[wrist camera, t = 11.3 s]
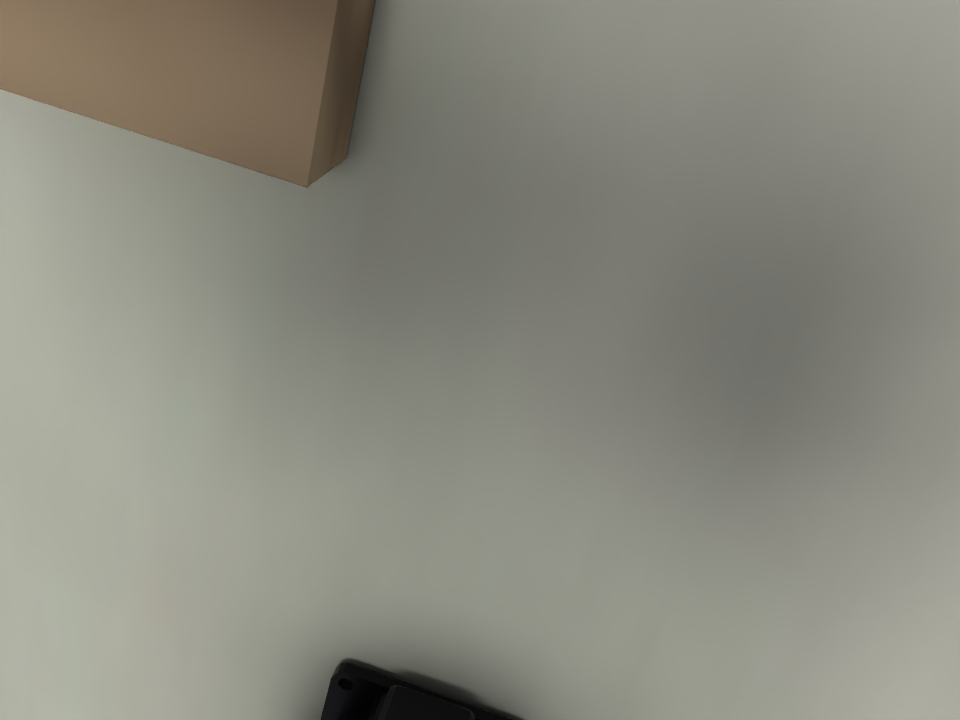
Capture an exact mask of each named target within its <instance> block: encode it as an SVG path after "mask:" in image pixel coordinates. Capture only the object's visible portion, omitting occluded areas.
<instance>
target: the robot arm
mask: <svg viewBox="0 0 960 720" xmlns="http://www.w3.org/2000/svg"><path fill="white" fill-rule="evenodd" d="M348 679H349V680H348ZM321 720H511V719H508V718H506V717H503V716H500V715H497V714H494V713H491V712H488V711H486V710H483V709H480V708H477V707H474V706H471V705H468V704H465V703H463V702H460V701H457V700H454V699H451V698H448V697H445V696H443V695H440V694H437V693H434V692H431V691H428V690H425V689H423V688H420V687H417V686H414V685H411V684H408V683H405V682H403V681H400V680H397V679H394V678H391V677H388V676H385V675H383V674H380V673H377V672H374V671H371V670H368V669H365V668H363V667H360V666H357V665H354V664H350V663H342V664H340V665H338V666H337V667H336V669H335V671H334V673H333V676H332V678H331V681H330V685H329V689H328V693H327V697H326V701H325V705H324V708H323V712H322V716H321Z"/></svg>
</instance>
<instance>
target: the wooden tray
mask: <svg viewBox="0 0 960 720" xmlns="http://www.w3.org/2000/svg"><path fill="white" fill-rule="evenodd" d="M374 5H375V0H0V89H2V90H5V91H8V92H11V93H14V94H18V95H21V96H24V97H27V98H30V99H33V100H36V101H39V102H42V103H46V104H49V105H52V106H55V107H58V108H61V109H64V110H67V111H70V112H74V113H77V114H80V115H83V116H86V117H89V118H92V119H95V120H98V121H101V122H105V123H108V124H111V125H114V126H117V127H120V128H123V129H126V130H129V131H133V132H136V133H139V134H142V135H145V136H148V137H151V138H154V139H157V140H161V141H164V142H167V143H170V144H173V145H176V146H179V147H182V148H185V149H189V150H192V151H195V152H198V153H201V154H204V155H207V156H210V157H213V158H216V159H220V160H223V161H226V162H229V163H232V164H235V165H238V166H241V167H244V168H248V169H251V170H254V171H257V172H260V173H263V174H266V175H269V176H272V177H276V178H279V179H282V180H285V181H288V182H291V183H294V184H297V185H300V186H303V187H308V186H310V185H311V184H312V183H314V182H315V181H316V180H318V179H319V178H320V177H322V176H323V175H324V174H326V173H327V172H328V171H330V170H331V169H332V168H334V167H335V166H336V165H338V164H339V163H340V162H342V161H343V160H344V159H346V156H347V150H348V145H349V140H350V134H351V129H352V123H353V118H354V113H355V107H356V102H357V96H358V91H359V86H360V80H361V75H362V69H363V64H364V59H365V53H366V48H367V43H368V37H369V32H370V26H371V21H372V16H373V10H374Z"/></svg>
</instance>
